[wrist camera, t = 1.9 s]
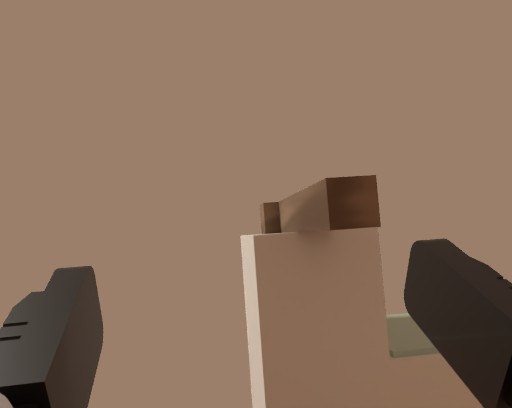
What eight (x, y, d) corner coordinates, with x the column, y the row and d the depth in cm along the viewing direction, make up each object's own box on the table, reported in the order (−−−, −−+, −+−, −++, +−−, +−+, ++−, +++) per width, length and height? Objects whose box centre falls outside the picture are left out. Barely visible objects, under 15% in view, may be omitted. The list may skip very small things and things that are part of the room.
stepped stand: (285, 680, 30) (253, 235, 33) (262, 541, 44) (240, 235, 46) (540, 631, 33) (494, 217, 35) (442, 513, 46) (413, 222, 49)
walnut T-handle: (304, 232, 24) (299, 179, 24) (261, 234, 44) (259, 205, 44) (405, 225, 25) (400, 173, 25) (318, 230, 44) (316, 201, 45)
